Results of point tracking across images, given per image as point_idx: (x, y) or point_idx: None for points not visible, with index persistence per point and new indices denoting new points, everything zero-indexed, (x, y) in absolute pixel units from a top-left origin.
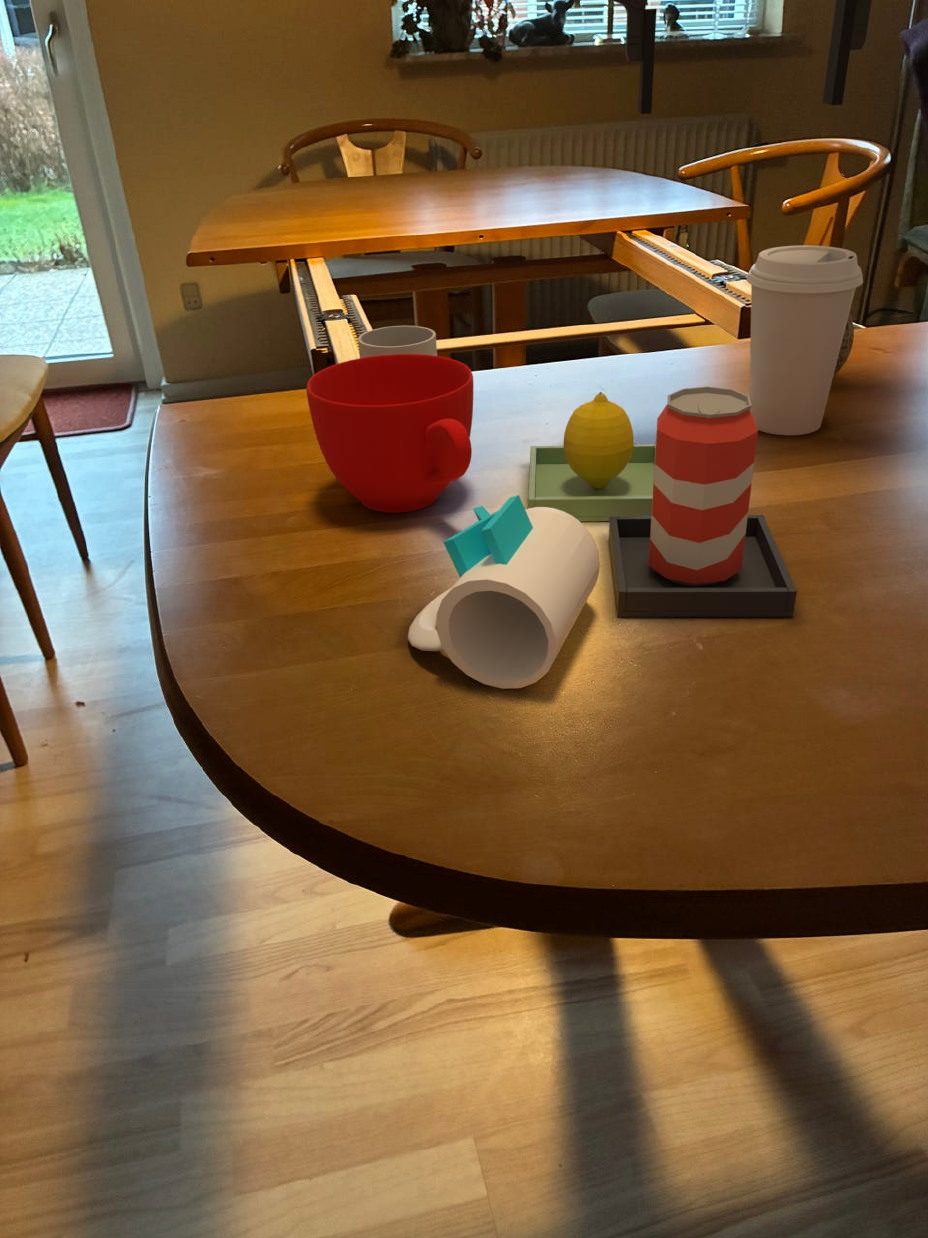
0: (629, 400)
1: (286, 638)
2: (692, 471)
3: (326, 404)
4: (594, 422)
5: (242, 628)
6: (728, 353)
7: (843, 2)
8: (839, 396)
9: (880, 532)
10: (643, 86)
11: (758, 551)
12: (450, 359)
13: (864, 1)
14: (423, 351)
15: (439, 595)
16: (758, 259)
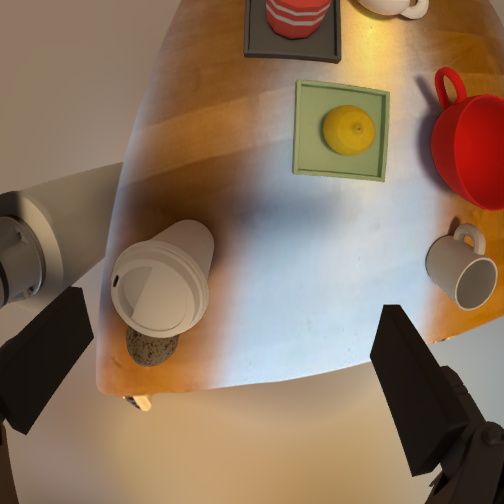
0: (293, 299)
1: (471, 16)
2: None
3: None
4: (360, 111)
5: (487, 30)
6: (208, 375)
7: (4, 389)
8: None
9: (172, 66)
10: (413, 326)
11: (251, 35)
12: (465, 188)
13: None
14: (463, 263)
15: (422, 9)
16: (196, 303)
